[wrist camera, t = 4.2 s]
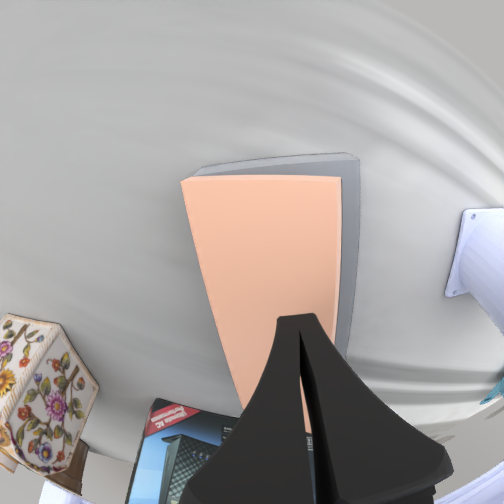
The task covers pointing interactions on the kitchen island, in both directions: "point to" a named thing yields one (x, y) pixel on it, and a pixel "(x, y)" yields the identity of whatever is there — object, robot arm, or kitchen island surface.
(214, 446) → the router box
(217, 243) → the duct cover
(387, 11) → the kitchen island surface
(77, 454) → the plant pot
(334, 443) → the robot arm
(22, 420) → the decorative jar
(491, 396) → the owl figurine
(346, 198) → the cable duct
